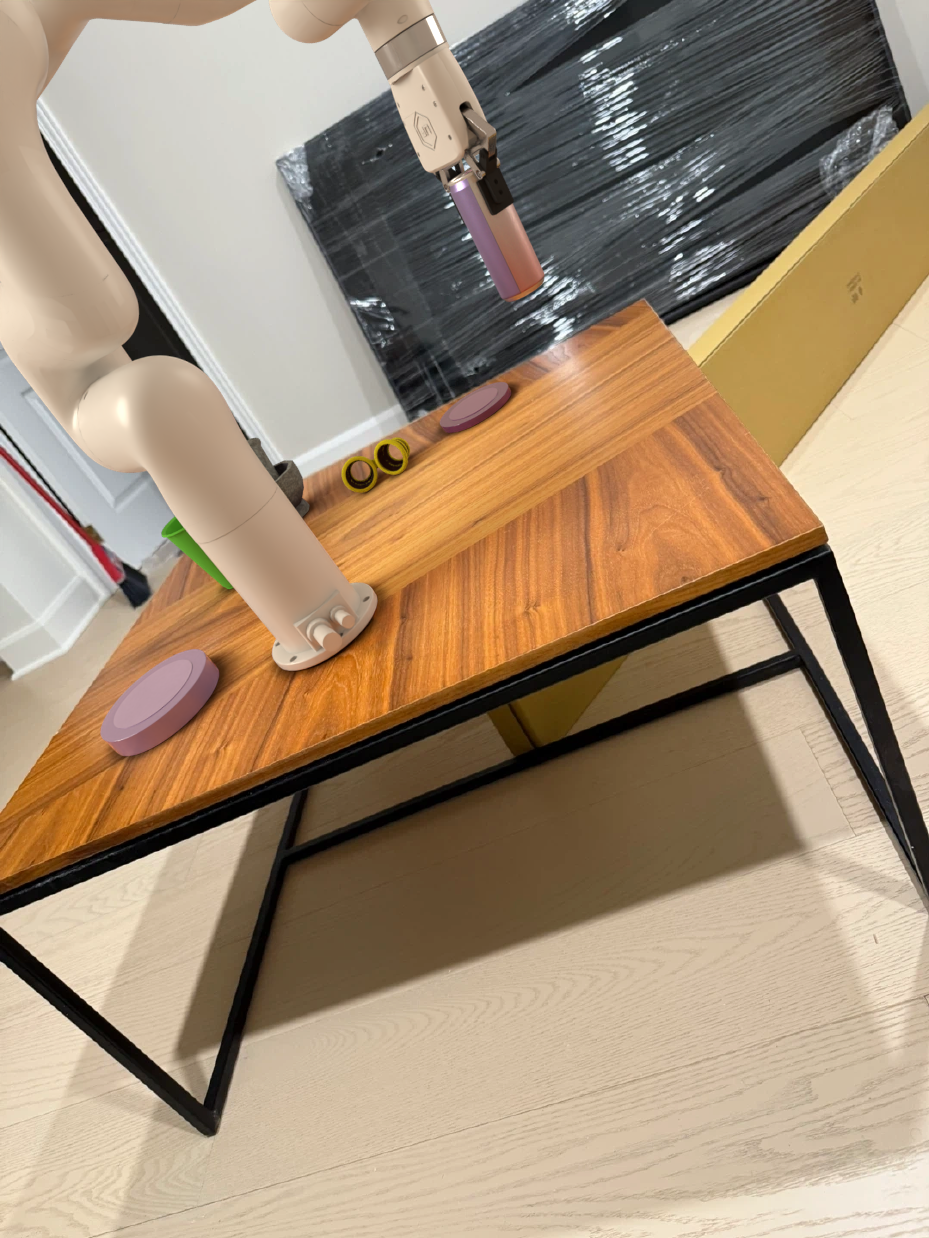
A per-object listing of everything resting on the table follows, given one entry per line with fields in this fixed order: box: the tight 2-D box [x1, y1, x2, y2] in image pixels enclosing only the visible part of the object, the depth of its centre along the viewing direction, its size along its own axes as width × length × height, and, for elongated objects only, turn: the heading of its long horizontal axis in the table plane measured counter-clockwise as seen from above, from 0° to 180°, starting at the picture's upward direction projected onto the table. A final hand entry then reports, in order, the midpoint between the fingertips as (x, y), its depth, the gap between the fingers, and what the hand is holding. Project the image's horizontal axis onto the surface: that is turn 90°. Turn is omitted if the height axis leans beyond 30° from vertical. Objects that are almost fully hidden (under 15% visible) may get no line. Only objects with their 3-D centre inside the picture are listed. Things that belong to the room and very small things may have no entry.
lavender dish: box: [99, 648, 220, 757], centre depth 93 cm, size 14×14×2 cm
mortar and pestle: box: [246, 437, 310, 518], centre depth 121 cm, size 11×9×12 cm
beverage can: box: [448, 167, 545, 303], centre depth 100 cm, size 6×6×15 cm
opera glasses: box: [341, 436, 411, 494], centre depth 115 cm, size 10×5×5 cm, turn 92°
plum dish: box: [439, 381, 512, 434], centre depth 118 cm, size 11×11×1 cm
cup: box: [160, 515, 234, 590], centre depth 112 cm, size 9×9×11 cm
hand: (488, 212), depth 99 cm, fingers closed on beverage can, 6 cm apart
